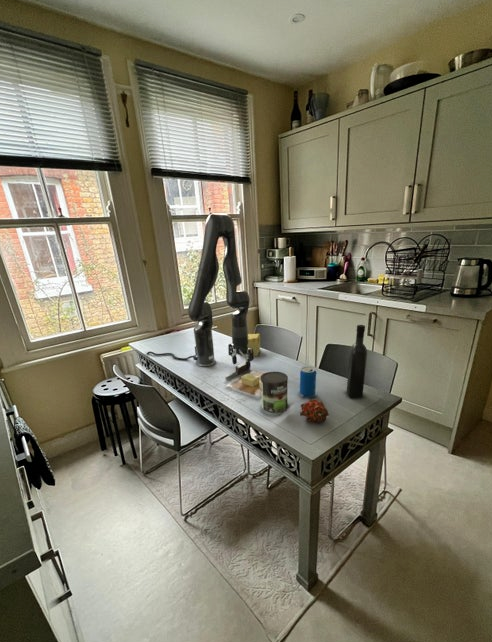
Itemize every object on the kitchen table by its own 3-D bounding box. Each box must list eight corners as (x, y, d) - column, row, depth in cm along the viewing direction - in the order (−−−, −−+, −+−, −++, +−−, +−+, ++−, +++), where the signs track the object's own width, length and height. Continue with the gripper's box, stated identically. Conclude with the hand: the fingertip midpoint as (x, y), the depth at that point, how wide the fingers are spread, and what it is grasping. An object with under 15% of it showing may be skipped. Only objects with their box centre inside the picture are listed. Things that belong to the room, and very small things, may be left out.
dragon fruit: (325, 432, 112) (302, 421, 122) (337, 412, 114) (313, 404, 124) (314, 420, 107) (290, 410, 117) (327, 399, 110) (302, 391, 119)
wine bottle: (345, 391, 135) (351, 323, 123) (359, 391, 135) (366, 323, 122) (349, 398, 130) (355, 328, 117) (363, 398, 129) (371, 327, 117)
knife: (224, 382, 149) (223, 372, 147) (246, 370, 160) (245, 361, 158) (228, 383, 147) (227, 373, 145) (250, 371, 158) (249, 362, 156)
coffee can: (292, 411, 122) (292, 379, 117) (268, 418, 119) (267, 385, 113) (280, 399, 131) (279, 369, 125) (257, 406, 127) (256, 374, 122)
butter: (241, 382, 144) (240, 376, 143) (247, 379, 147) (247, 373, 146) (253, 386, 140) (252, 380, 138) (259, 382, 143) (259, 376, 142)
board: (226, 388, 143) (226, 385, 142) (254, 372, 157) (254, 369, 156) (257, 399, 132) (257, 396, 132) (284, 381, 146) (284, 378, 146)
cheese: (257, 356, 176) (256, 339, 172) (238, 355, 178) (237, 338, 174) (260, 349, 185) (260, 333, 181) (242, 349, 188) (242, 333, 183)
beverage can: (311, 400, 130) (312, 373, 125) (297, 396, 133) (297, 370, 128) (317, 393, 135) (318, 367, 130) (303, 390, 138) (304, 365, 133)
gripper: (256, 335, 146) (257, 366, 153) (234, 329, 155) (235, 360, 161) (246, 339, 141) (247, 372, 148) (223, 333, 149) (225, 365, 156)
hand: (241, 365), depth 155 cm, fingers open, 8 cm apart
